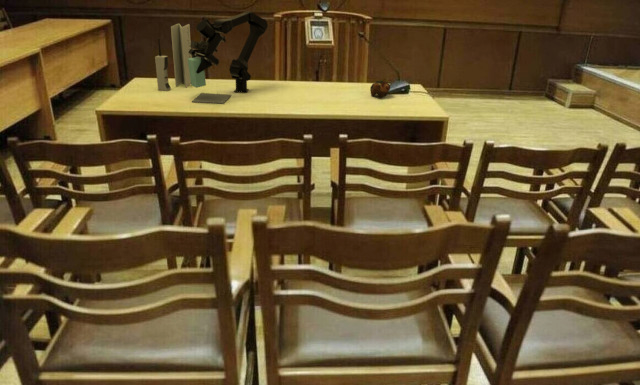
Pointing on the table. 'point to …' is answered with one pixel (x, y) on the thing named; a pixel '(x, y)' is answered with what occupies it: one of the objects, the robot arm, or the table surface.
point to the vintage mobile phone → (162, 71)
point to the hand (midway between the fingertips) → (194, 72)
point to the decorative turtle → (380, 88)
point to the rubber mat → (211, 98)
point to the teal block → (195, 78)
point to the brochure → (181, 53)
